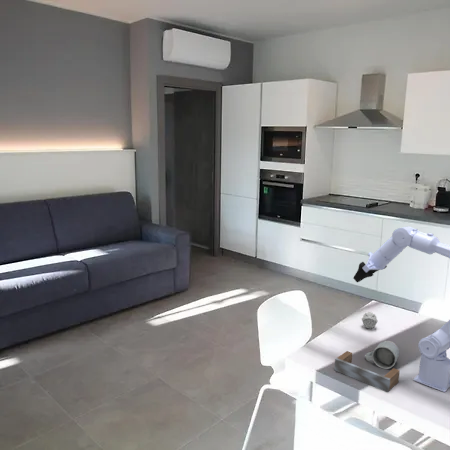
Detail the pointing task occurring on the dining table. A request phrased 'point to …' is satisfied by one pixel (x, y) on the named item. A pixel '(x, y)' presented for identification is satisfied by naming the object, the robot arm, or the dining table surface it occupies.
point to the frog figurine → (369, 320)
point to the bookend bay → (366, 373)
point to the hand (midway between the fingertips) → (361, 276)
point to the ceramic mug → (384, 355)
